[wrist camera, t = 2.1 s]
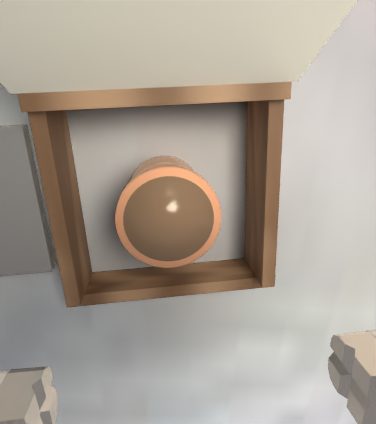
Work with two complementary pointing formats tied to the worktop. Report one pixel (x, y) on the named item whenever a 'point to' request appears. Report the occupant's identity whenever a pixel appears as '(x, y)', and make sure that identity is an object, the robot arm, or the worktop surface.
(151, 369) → the worktop surface
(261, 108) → the frame
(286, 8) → the cold frame lid
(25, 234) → the slate tile
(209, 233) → the terracotta pot
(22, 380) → the robot arm
